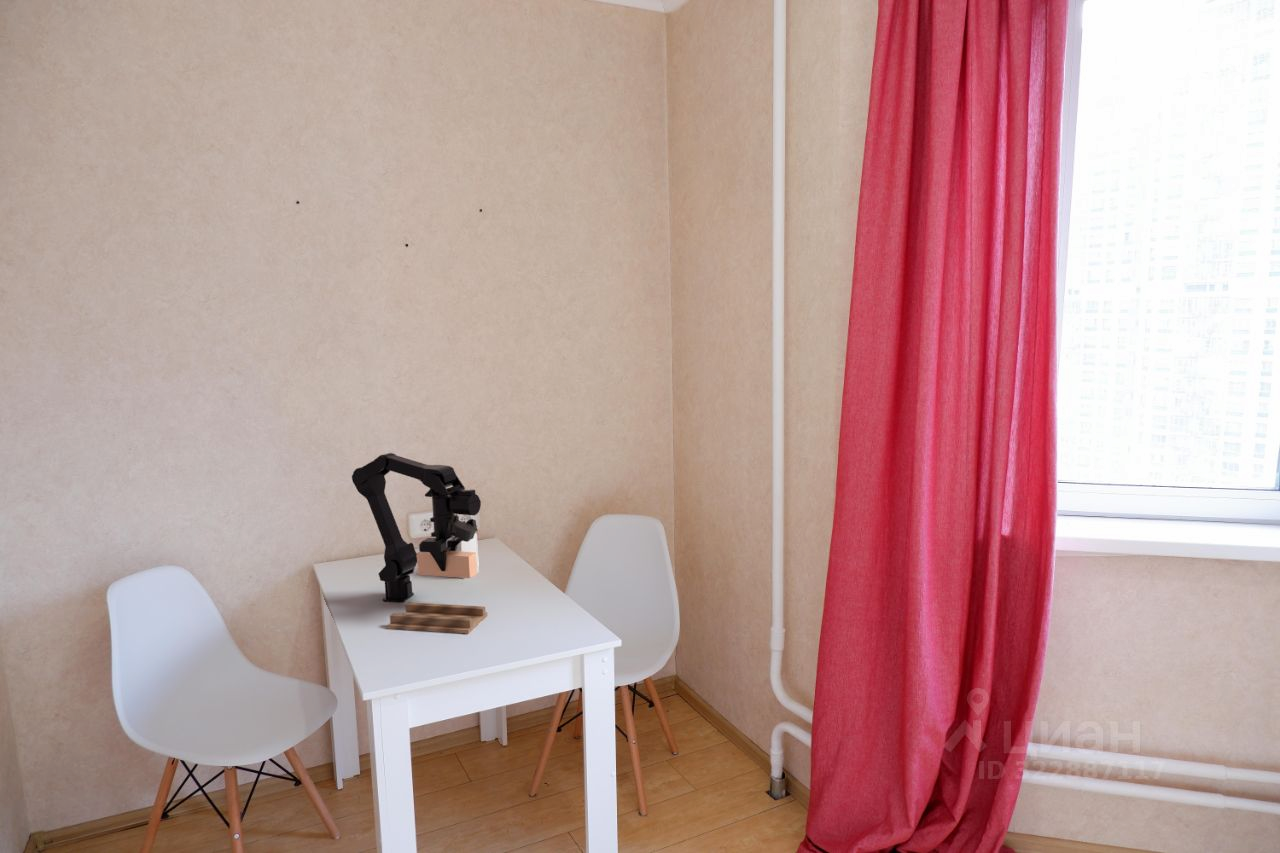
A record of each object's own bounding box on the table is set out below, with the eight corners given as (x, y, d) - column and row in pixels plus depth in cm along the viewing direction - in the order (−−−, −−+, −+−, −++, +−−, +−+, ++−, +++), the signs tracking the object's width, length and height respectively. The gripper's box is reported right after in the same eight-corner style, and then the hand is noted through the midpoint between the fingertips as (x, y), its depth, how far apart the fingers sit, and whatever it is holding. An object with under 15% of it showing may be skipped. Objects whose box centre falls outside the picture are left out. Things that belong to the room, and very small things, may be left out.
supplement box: (480, 572, 236) (478, 533, 235) (462, 579, 230) (460, 538, 228) (463, 568, 240) (461, 530, 239) (445, 575, 234) (443, 535, 232)
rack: (388, 628, 192) (387, 617, 192) (411, 611, 204) (410, 600, 204) (468, 633, 188) (467, 622, 187) (487, 615, 199) (487, 605, 199)
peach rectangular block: (417, 574, 207) (416, 553, 207) (426, 569, 211) (424, 549, 210) (469, 578, 203) (468, 556, 202) (477, 573, 207) (476, 552, 206)
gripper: (455, 522, 194) (459, 580, 196) (485, 505, 212) (488, 559, 214) (416, 521, 196) (420, 578, 198) (448, 504, 215) (451, 557, 217)
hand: (447, 568), depth 207 cm, fingers closed on peach rectangular block, 4 cm apart
